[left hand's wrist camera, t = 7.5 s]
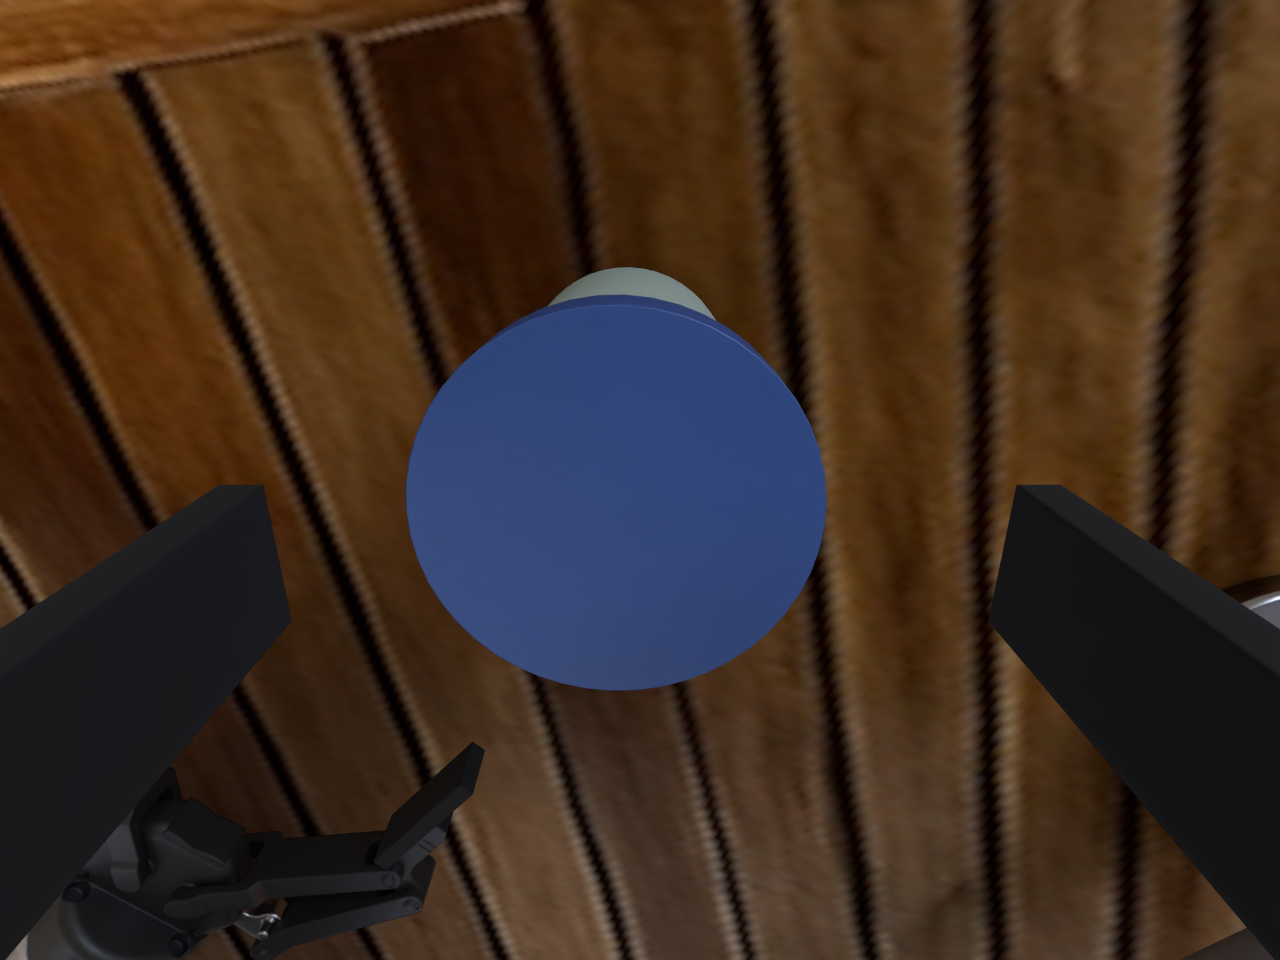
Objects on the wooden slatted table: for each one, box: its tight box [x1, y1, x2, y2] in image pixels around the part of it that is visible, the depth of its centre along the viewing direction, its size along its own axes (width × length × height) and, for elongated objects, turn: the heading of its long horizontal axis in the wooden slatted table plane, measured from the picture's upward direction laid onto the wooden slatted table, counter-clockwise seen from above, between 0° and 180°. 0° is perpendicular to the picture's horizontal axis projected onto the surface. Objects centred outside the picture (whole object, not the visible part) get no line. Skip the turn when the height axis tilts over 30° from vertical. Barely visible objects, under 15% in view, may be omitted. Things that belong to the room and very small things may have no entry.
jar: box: [548, 267, 716, 321], centre depth 25 cm, size 9×9×16 cm
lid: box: [406, 294, 826, 690], centre depth 18 cm, size 10×10×2 cm
